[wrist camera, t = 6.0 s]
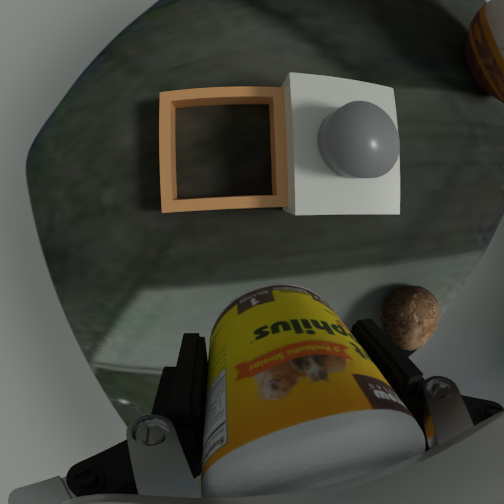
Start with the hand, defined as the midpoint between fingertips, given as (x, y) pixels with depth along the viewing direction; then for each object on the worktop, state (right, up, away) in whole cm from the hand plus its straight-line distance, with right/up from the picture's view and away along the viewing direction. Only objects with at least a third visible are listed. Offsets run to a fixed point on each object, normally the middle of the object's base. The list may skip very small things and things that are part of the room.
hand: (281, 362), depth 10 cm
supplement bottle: (0, +1, +2) cm, 2 cm away
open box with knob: (+1, +14, +15) cm, 21 cm away
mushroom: (+17, -3, +21) cm, 27 cm away
